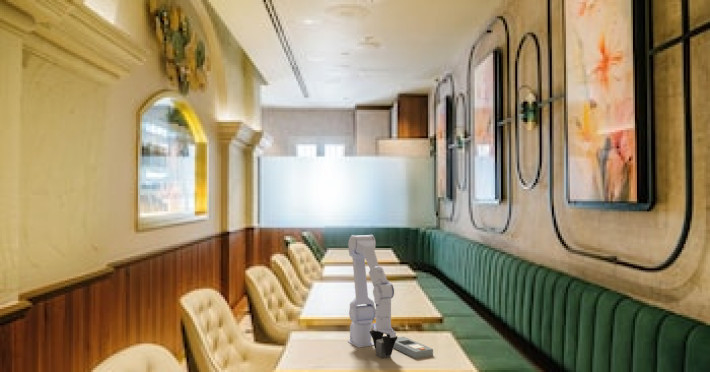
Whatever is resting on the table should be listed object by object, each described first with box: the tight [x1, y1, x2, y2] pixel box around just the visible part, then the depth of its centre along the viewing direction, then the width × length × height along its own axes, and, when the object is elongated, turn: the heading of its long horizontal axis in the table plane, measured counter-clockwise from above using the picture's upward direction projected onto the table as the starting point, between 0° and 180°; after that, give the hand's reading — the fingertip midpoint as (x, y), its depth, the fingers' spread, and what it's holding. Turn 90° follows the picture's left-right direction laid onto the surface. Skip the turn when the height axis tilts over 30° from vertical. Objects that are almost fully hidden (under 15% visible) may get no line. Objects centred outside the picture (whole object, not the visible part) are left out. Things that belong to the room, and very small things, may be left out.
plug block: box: [375, 339, 392, 359], centre depth 198 cm, size 4×4×6 cm
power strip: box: [393, 336, 434, 360], centre depth 206 cm, size 20×8×3 cm, turn 28°
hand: (383, 352), depth 198 cm, fingers open, 7 cm apart
